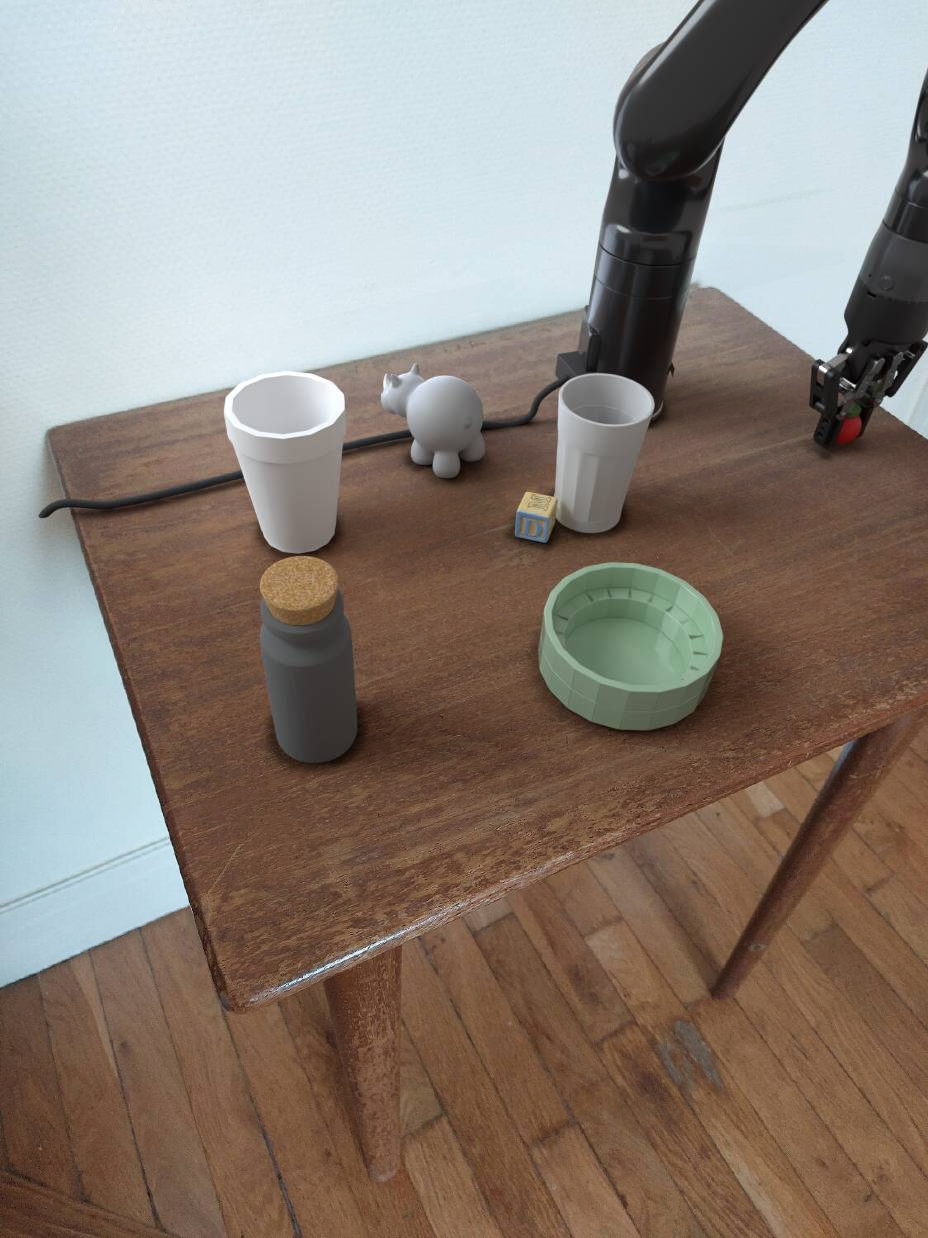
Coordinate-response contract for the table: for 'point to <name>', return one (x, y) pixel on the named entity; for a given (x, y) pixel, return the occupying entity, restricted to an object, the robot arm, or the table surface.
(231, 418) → the foam cup
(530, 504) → the alphabet block
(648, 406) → the cup
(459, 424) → the toy rhinoceros
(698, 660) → the bowl
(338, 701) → the bottle
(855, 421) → the toy tomato
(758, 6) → the robot arm
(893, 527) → the table surface
